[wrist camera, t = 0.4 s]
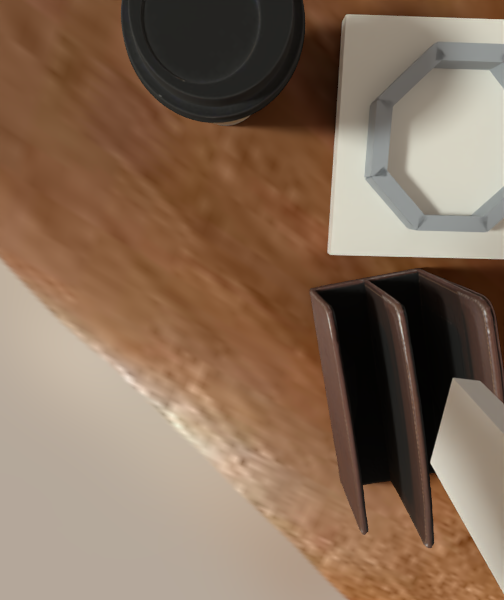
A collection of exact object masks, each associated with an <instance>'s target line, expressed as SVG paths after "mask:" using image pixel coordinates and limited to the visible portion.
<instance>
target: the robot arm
mask: <svg viewBox="0 0 504 600" xmlns="http://www.w3.org/2000/svg"><path fill="white" fill-rule="evenodd" d="M430 463H431V465H432V467H433V469H434V471H435V472H436V474H437V476H438V478H439V479H440V481H441V483H442V485H443V487H444V488H445V490H446V492H447V494H448V495H449V497H450V499H451V501H452V503H453V504H454V506H455V508H456V510H457V511H458V513H459V515H460V517H461V519H462V520H463V522H464V524H465V526H466V527H467V529H468V531H469V533H470V535H471V536H472V538H473V540H474V542H475V543H476V545H477V547H478V549H479V551H480V552H481V554H482V556H483V558H484V559H485V561H486V563H487V565H488V567H489V568H490V570H491V572H492V574H493V575H494V577H495V579H496V581H497V583H498V584H499V586H500V588H501V590H502V591H503V593H504V404H503V403H502V402H501V401H500V400H499V399H498V398H497V397H496V396H495V395H494V394H493V393H492V392H491V391H490V390H489V389H488V388H487V387H486V386H485V385H484V384H483V383H482V382H481V381H476V380H468V379H460V378H453V379H452V382H451V386H450V390H449V394H448V397H447V401H446V405H445V409H444V412H443V416H442V420H441V424H440V427H439V431H438V435H437V439H436V443H435V446H434V450H433V454H432V458H431V461H430Z"/></svg>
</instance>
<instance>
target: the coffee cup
mask: <svg viewBox="0 0 504 600" xmlns="http://www.w3.org/2000/svg"><path fill="white" fill-rule="evenodd" d="M121 24H122V31H123V37H124V42H125V46H126V50H127V53H128V56H129V59H130V62H131V64H132V66H133V68H134V70H135V72H136V74H137V76H138V77H139V79H140V80H141V82H142V83H143V85H144V86H145V87H146V89H147V90H148V91H149V92H150V93H151V94H152V95H153V96H154V97H155V98H156V99H157V100H158V101H159V102H160V103H162V104H163V105H164V106H166V107H167V108H168V109H170V110H172V111H174V112H175V113H177V114H179V115H181V116H184V117H186V118H189V119H192V120H196V121H201V122H208V123H214V124H218V125H222V126H230V125H235V124H237V123H240V122H242V121H244V120H245V119H247V118H248V117H249V116H250V115H252V114H254V113H256V112H257V111H259V110H261V109H262V108H264V107H265V106H267V105H268V104H269V103H270V102H271V101H273V100H274V99H275V98H276V97H277V96H278V95H279V93H280V92H281V91H282V90H283V89H284V87H285V86H286V84H287V83H288V82H289V80H290V78H291V77H292V75H293V73H294V71H295V69H296V66H297V64H298V61H299V59H300V55H301V52H302V48H303V42H304V35H305V12H304V5H303V0H122V4H121Z"/></svg>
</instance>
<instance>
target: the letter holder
mask: <svg viewBox="0 0 504 600" xmlns="http://www.w3.org/2000/svg"><path fill="white" fill-rule="evenodd" d="M310 296H311V302H312V308H313V314H314V321H315V327H316V333H317V339H318V345H319V352H320V358H321V364H322V371H323V376H324V382H325V389H326V396H327V401H328V407H329V413H330V419H331V426H332V432H333V438H334V444H335V449H336V455H337V461H338V467H339V474H340V481H341V483H342V486H343V488H344V491H345V494H346V496H347V499H348V501H349V504H350V506H351V509H352V511H353V514H354V516H355V519H356V521H357V524H358V527H359V529H360V531H361V533H362V534H364V535H365V534H366V533H367V532H368V524H367V517H366V509H365V501H364V491H363V485H366V484H371V483H377V482H386V481H391V482H392V483H393V485H394V487H395V489H396V491H397V492H398V494H399V496H400V498H401V500H402V502H403V503H404V506H405V508H406V510H407V512H408V513H409V515H410V517H411V519H412V521H413V523H414V525H415V527H416V529H417V531H418V533H419V535H420V537H421V539H422V541H423V544H424V545H425V546H426V547H428V548H432V545H433V544H434V532H433V514H432V498H431V487H430V477H429V474H431V473H436V472H435V471H434V469H433V467H432V465H431V463H430V461H431V458H432V454H433V450H434V446H435V443H436V439H437V435H438V431H439V427H440V424H441V420H442V416H443V412H444V409H445V405H446V401H447V397H448V394H449V390H450V386H451V382H452V379H453V378H460V379H468V380H476V381H481V382H482V383H483V384H484V385H485V386H486V387H487V388H488V389H489V390H490V391H491V392H492V393H493V394H494V395H495V396H496V397H497V398H498V399H499V400H500V401H501V402H502V403H503V404H504V370H503V363H502V355H501V349H500V342H499V335H498V327H497V320H496V315H495V312H494V309H493V306H492V304H491V302H490V301H489V300H488V298H486V297H485V296H484V295H482V294H480V293H477V292H475V291H473V290H470V289H468V288H466V287H463V286H461V285H458V284H456V283H453V282H450V281H448V280H445V279H443V278H440V277H438V276H436V275H433V274H431V273H428V272H426V271H424V270H422V269H411V270H405V271H400V272H394V273H388V274H384V275H378V276H372V277H367V278H362V279H356V280H351V281H346V282H341V283H336V284H330V285H325V286H320V287H316V288H311V289H310Z"/></svg>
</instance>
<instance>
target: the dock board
mask: <svg viewBox="0 0 504 600" xmlns="http://www.w3.org/2000/svg"><path fill="white" fill-rule="evenodd" d="M328 253H329V254H330V255H357V256H396V257H435V258H475V259H504V20H500V19H471V18H442V17H413V16H384V15H355V14H346V16H345V17H344V19H343V21H342V31H341V47H340V63H339V79H338V94H337V110H336V126H335V142H334V158H333V174H332V189H331V205H330V221H329V237H328Z"/></svg>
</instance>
